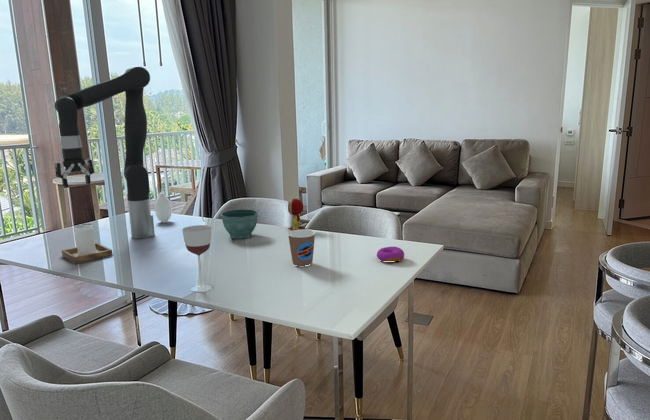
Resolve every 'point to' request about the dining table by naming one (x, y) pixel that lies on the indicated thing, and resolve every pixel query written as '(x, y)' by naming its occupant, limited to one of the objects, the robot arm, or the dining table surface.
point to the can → (85, 239)
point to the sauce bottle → (163, 208)
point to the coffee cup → (302, 246)
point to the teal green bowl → (239, 222)
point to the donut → (390, 254)
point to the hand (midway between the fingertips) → (77, 185)
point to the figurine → (295, 213)
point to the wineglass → (197, 242)
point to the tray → (76, 259)
